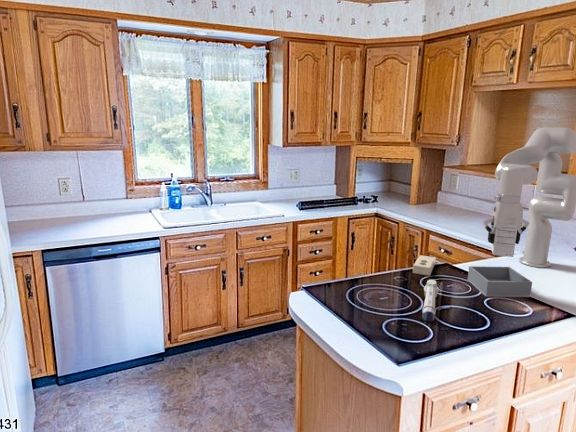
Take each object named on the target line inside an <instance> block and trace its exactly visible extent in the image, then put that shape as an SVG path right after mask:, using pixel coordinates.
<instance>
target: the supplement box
mask: <svg viewBox="0 0 576 432" xmlns="http://www.w3.org/2000/svg"><path fill="white" fill-rule="evenodd" d="M517 227H518V225H517V224H502V228H501V229H497V228H496V229H495V232H494V234H495V238H494V243H493V244H491V247H490V250H491V252H492V255H493V256H499V257H500V256H501V257H508V258H510V257H511V258H514V255H515V250H516V249H515V247H516V243H515V242H516V235H517Z"/></svg>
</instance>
